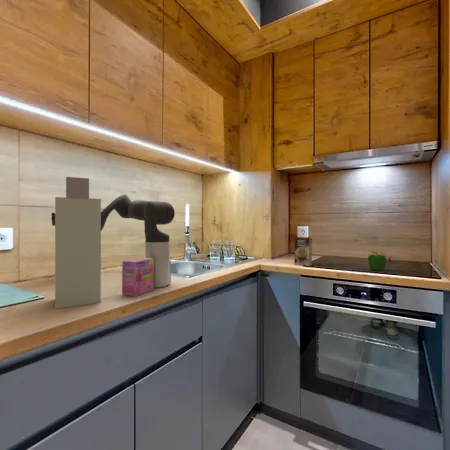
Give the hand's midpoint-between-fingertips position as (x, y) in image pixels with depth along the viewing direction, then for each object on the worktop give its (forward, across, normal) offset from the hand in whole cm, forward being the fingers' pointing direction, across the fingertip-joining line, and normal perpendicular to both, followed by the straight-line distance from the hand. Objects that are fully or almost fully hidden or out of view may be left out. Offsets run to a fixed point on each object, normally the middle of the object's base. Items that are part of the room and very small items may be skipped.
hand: (73, 209), depth 107 cm
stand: (+5, 0, -37) cm, 37 cm away
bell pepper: (+19, -140, -45) cm, 148 cm away
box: (+4, -19, -37) cm, 42 cm away
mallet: (+17, 0, -7) cm, 18 cm away
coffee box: (-11, -121, -28) cm, 125 cm away
